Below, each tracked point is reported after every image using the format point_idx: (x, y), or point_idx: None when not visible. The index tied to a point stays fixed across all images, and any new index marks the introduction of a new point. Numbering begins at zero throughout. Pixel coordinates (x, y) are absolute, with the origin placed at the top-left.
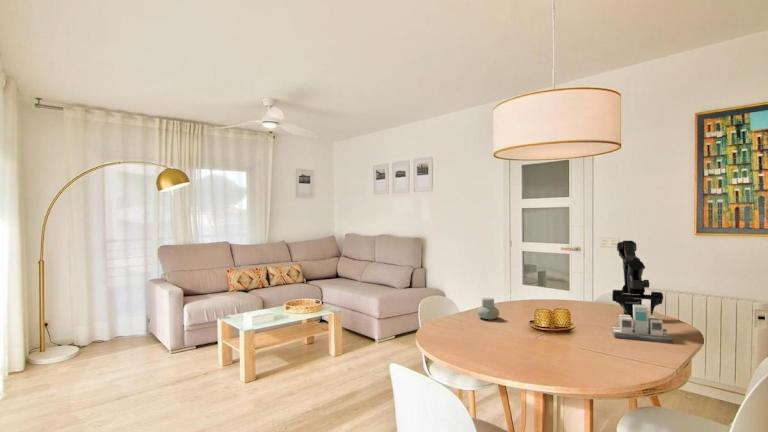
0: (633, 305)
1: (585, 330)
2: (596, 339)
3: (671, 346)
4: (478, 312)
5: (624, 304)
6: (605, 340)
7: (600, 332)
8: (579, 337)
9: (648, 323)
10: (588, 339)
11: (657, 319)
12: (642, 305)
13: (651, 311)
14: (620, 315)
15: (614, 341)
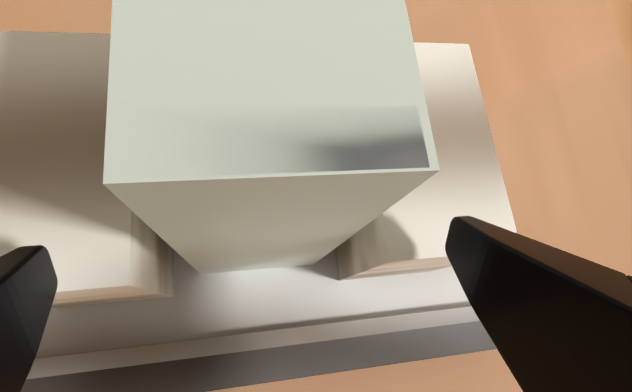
0: (409, 29)
1: (624, 199)
2: (511, 15)
3: (63, 6)
4: None
5: (601, 280)
6: (464, 11)
7: (530, 187)
8: (596, 25)
9: (155, 258)
10: (546, 3)
11: (16, 123)
12: (197, 84)
13: (12, 265)
14: (498, 185)
15: (416, 7)
